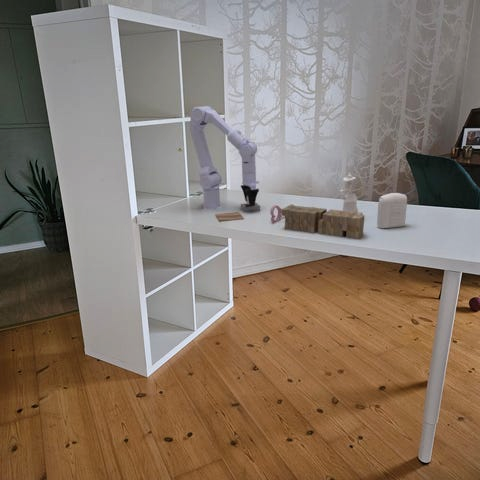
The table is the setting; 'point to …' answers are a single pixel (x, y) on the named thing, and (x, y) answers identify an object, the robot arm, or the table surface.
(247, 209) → the chuck block
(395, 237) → the table surface
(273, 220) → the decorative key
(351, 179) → the figurine
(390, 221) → the off-white upright rounded block
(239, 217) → the pad
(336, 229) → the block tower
